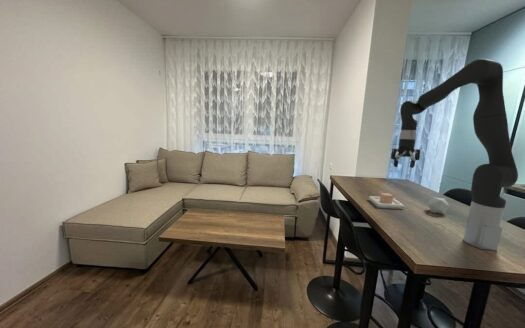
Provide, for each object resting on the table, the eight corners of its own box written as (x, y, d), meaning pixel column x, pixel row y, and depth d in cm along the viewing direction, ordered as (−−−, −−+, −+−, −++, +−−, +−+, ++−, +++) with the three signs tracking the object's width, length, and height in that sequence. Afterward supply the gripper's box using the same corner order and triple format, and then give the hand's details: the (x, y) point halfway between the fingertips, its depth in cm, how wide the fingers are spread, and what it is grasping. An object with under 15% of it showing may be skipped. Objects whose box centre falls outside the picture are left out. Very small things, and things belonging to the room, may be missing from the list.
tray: (403, 209, 125) (404, 205, 124) (378, 207, 126) (378, 203, 125) (391, 201, 138) (392, 197, 138) (369, 199, 140) (369, 196, 139)
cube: (392, 204, 129) (393, 196, 128) (383, 203, 130) (384, 195, 129) (388, 201, 134) (389, 193, 133) (379, 200, 135) (380, 192, 134)
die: (444, 212, 124) (434, 195, 127) (456, 210, 116) (445, 192, 119) (431, 217, 124) (420, 201, 127) (442, 215, 115) (431, 198, 119)
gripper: (397, 138, 118) (394, 167, 120) (425, 139, 117) (421, 169, 119) (390, 137, 125) (387, 165, 128) (416, 138, 124) (412, 166, 127)
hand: (403, 167), depth 123 cm, fingers open, 8 cm apart
